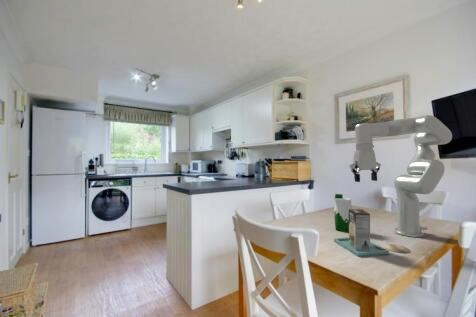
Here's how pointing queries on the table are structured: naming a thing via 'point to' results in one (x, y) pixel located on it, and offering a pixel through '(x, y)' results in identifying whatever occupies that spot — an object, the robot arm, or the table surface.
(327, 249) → the table surface
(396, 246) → the gold metallic coaster
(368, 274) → the table surface
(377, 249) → the tray
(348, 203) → the milk carton
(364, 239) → the coffee box
